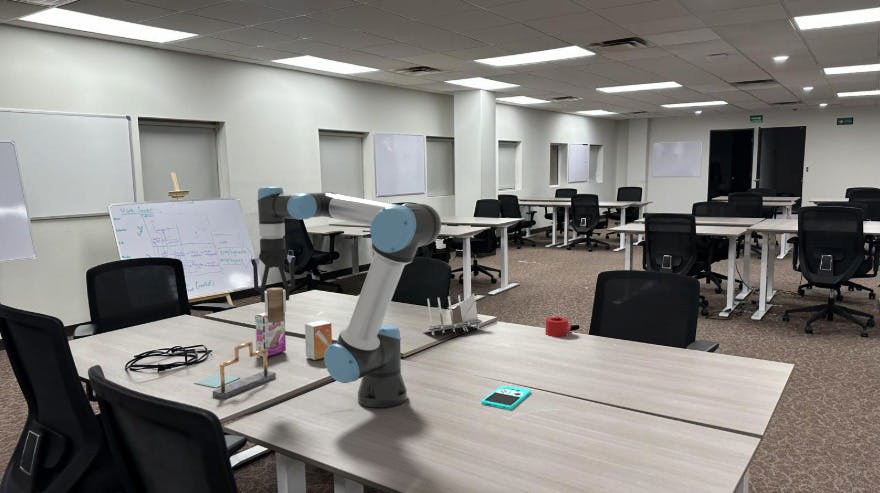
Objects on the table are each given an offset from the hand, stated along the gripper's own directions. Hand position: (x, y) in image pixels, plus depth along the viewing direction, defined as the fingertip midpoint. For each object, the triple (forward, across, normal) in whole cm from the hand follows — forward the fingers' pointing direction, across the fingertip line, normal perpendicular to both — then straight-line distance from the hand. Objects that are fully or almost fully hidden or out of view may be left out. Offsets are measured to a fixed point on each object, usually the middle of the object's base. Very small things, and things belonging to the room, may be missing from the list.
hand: (275, 311), depth 183 cm
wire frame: (+27, +10, -10) cm, 30 cm away
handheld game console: (+27, -66, +28) cm, 77 cm away
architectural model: (+27, -78, -48) cm, 95 cm away
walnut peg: (+3, 0, 0) cm, 3 cm away
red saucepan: (+27, -121, -34) cm, 128 cm away
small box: (+27, -17, -35) cm, 47 cm away
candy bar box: (+27, 0, -45) cm, 52 cm away
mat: (+27, +19, -19) cm, 38 cm away
